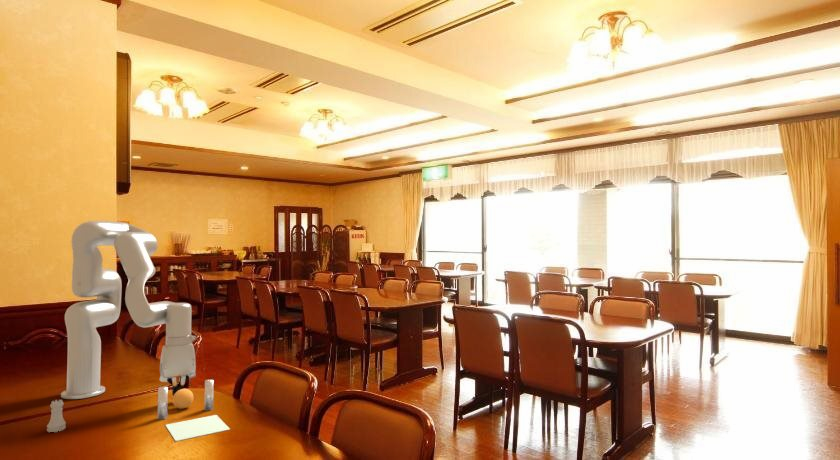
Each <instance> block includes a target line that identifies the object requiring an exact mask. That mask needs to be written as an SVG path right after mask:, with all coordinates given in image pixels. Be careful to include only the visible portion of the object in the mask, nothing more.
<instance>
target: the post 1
mask: <svg viewBox="0 0 840 460" xmlns="http://www.w3.org/2000/svg"><path fill="white" fill-rule="evenodd" d="M168 396H169V386H160V387H158V388H157V420H167V418H168V410H169V409H168V403H169V397H168Z"/></svg>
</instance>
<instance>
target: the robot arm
mask: <svg viewBox="0 0 840 460" xmlns="http://www.w3.org/2000/svg"><path fill="white" fill-rule="evenodd" d="M71 235H72V236H71V249H72V250H71V251H72V270H71V271H72V274H71V275H72V276H71V292H72V293H73V295H74V296H76V297H77V298H94V297H96V299H94V300H93V299H91V300H85V301H79V302H75V303H73V304H72V305H70V306H69V307H68V308H67V309H66V311H65V313H64V324H65V326H66V327H65V328H66V334H67V335H66V336H67V362H66V363H67V365H66V369H67V370H66V390H65V389H64V391H61V393H60V397H61V399H63V400H64V399H65V400H79V399H86V398H87V399H88V398H92V397H95V396H99V395H102V394H103V393H105V392H106V387H105V386H104V385H101V366H102V365H101V360H102V359H101V358H102V357H101V355H102V341H101V336H100V334H99V332H98V331H97V328H99V327H105V326H109V325H112V324H114V323H115V322H117V320H119V317H120V313H121V308H122V307H121V306H122V292H123V291H122V288H123V287H122V286H123V285H122V278H121V276H120V275H119V273H118V272H117V271H116V270H114V269H112V268H103V255H102V252H101V250H100V248H98V247H100V246H107V247H108V246H109V247H110V246H113V247H114V249H115V252H116V255H117V256H118V259H119V261H120V264H121V265H122V268H123V271H124V272H125V275H126V276H127V277H126V278H127V279H128V282H127V284H126V287H125V297H124V301H125V306H126V308H127V310H128V312H129V313H128V314H129V315H130V317H131V320H133V322H134V324H136V325H137V326H138V327H141V328H150V327H151V328H152V327H154V326H160V325H164V324H165V345H162V349H161V355H160V362H159V363H160V364H159V374H160V376H159V381H160V382H161V383H169V384H170V385H171V386H172V388H171V389H172V396H174V394H175V393H176V392H177V391H178V390H180V389H184V385H185V383H186V382H187V381H188V380H189V379H192V378H195V377H196V376H197V374H196V355H195V353H196V351H195V346H194V344H193V341H196V340H197V335H193V334H192V315H193V314H192V312H193V311H192V304H190V303H188V302H173V301H168V300H164V301H156V302H150V303H149V301H148V299H147V297H146V294H145V284H146V282H147V281H148V280H149V279H151V278H152V277H153V276H154V275H155V274H156V267H155V266H154V263H153V261H152V259H151V256H152V255H154V254H155V253H156V252H157V250H158V247H159V244H158V239H157V238H156V237H155V235H154V234H153V233H150V232H149V231H147V230H144V229H142V228H139V227H137V226H135V225H132V224H130V223H127V222H124V221H123V222H122V221H112V220H111V221H109V220H90V221H89V220H88V221H85V222H82V223H79V225H77V226H76V227H75V229H74V230H73V233H72V234H71ZM177 377H179V380H178V382H177Z"/></svg>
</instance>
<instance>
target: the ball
mask: <svg viewBox="0 0 840 460" xmlns="http://www.w3.org/2000/svg"><path fill="white" fill-rule="evenodd" d="M172 396H173V395H172ZM193 402H194V393H193V392H192V391H191V390H190V389H187V388H183V389H180V390H178V391H177V392H176V393H175V394H174V396H173V397H172V404H173V406H174V407H176V408H177V409H181V410H184V409H186V408H189V406H191V405H192V403H193Z"/></svg>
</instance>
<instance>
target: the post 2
mask: <svg viewBox="0 0 840 460" xmlns="http://www.w3.org/2000/svg"><path fill="white" fill-rule="evenodd" d="M214 382H215V380H214V379H209V378H208V379H204V398H203V399H204V400H203V401H204V403H203V406H204V407H203V410H204V412H205V411H206V412H208V411H209V412H210V411H212V410H213V411H214V392H215V390H214V388H215V387H214V386H215V385H214Z"/></svg>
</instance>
